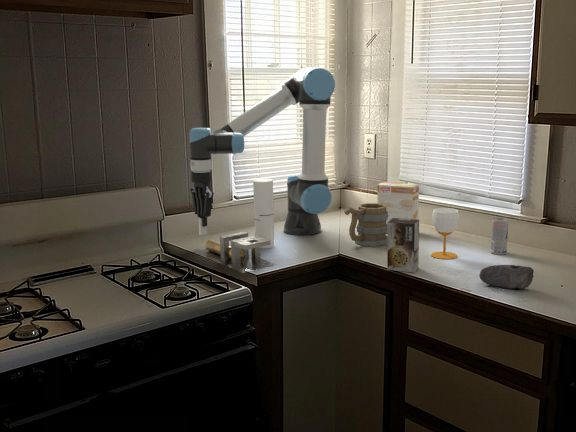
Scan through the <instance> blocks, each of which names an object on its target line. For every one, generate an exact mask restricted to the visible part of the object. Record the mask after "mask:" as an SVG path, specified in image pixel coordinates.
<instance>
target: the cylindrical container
mask: <svg viewBox="0 0 576 432" xmlns="http://www.w3.org/2000/svg"><path fill="white" fill-rule="evenodd" d="M252 183H253V184H252V185H253V213H254V214H253V215H254V216H253V218H254V220H253V221H254V222H253V223H254V236H259V237H262V238H265V239H268V240H270V245H266V246H261V247H260V249H269V248H273V247H275V220H274V219H275V218H274V217H275V216H274V215H275V214H274V213H275V211H274V179H271V178H256V179H253V180H252Z"/></svg>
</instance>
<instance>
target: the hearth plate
mask: <svg viewBox="0 0 576 432" xmlns="http://www.w3.org/2000/svg"><path fill="white" fill-rule="evenodd" d="M193 252H195V253H194V254H195V255H199V256H201V257H203V258H206V259H208V260H210V261H213V262H215V263H217V264H220V265H223V266H225V267H227V268H230V269H231V270H234V271H237V272H239V273H242V274H244V273H248V272H247V271H245V269H246V268H247V269H250V270H254V271H258V270H262V269H266V268H270V267H275V266H278V264H277V263H276V262H275V263H274V262H272V261H269V260H267V259H264V258H261V257H260V261H259V262H254V261H252V257H251V254H250V253H249V257H245V259H244V261H242V262H241V266H237V267H235V266H233V265H232V259H229V261H227V262H223V261H221V255H219V254H216V253H214V252H211V251H209V250H207V249H206V248H205V249H200V250H194V251H193ZM256 269H257V270H256Z"/></svg>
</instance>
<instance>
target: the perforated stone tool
mask: <svg viewBox="0 0 576 432" xmlns="http://www.w3.org/2000/svg"><path fill="white" fill-rule="evenodd" d="M534 271H535V270H534V269H533V267H530V266H523V265H515V264H497V265H496V264H495V265H489V266H486V267H484V268H482V269H481V270H480V272H479V279H480V281H482V283H484V284H486V285H488V286H491V287H498V288H503V289H507V290H512V289H518V290H525V289H526V288H529V286H530V285H531V284H532V282H533V279H534Z"/></svg>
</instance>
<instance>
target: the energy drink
mask: <svg viewBox="0 0 576 432" xmlns="http://www.w3.org/2000/svg"><path fill="white" fill-rule="evenodd" d="M508 232H509V220H508V219H507V218H504V217H495V218H492V221H491V234H490V235H491V236H490V253H491V254H493V255H497V256H498V255H499V256H502V255H506V254H507V250H508V249H507V248H508Z"/></svg>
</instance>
